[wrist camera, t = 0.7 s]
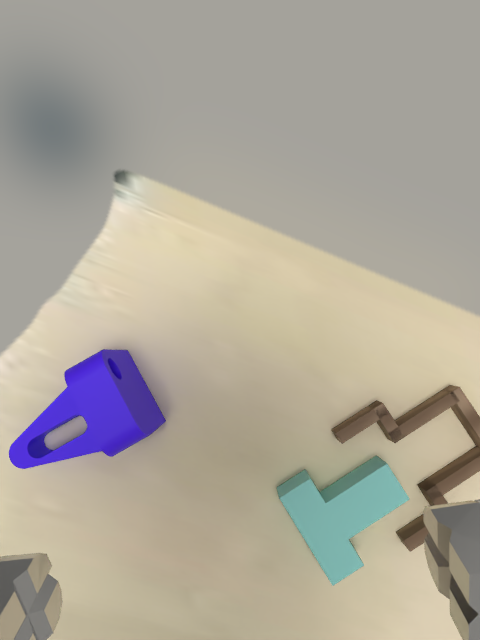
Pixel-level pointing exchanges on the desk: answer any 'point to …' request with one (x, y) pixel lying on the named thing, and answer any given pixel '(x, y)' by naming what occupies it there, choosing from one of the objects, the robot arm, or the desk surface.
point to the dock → (408, 423)
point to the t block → (341, 512)
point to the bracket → (93, 411)
